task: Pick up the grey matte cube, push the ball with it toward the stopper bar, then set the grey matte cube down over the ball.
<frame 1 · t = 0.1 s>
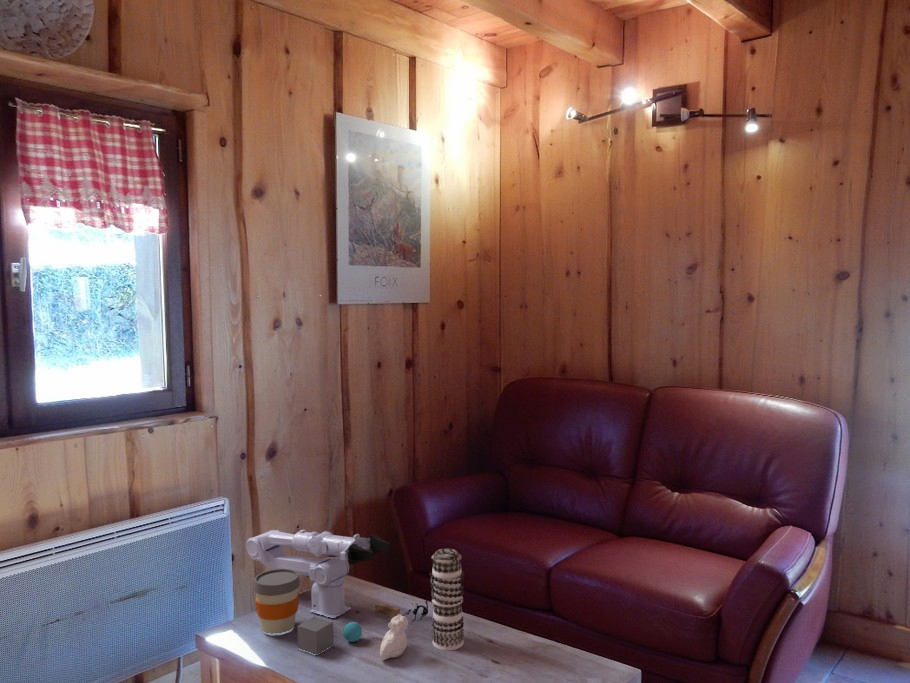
hand: (381, 551, 198), 22 cm above the table, tool horizontal, fingers open, 7 cm apart
reusable coffee cup: (278, 629, 199), on the table
creature: (415, 619, 204), on the table
stopper bar: (387, 614, 207), on the table
decorative candle: (448, 643, 189), on the table
grey matte cube: (316, 648, 187), on the table
ball: (352, 631, 191), on the table
bust: (394, 654, 184), on the table
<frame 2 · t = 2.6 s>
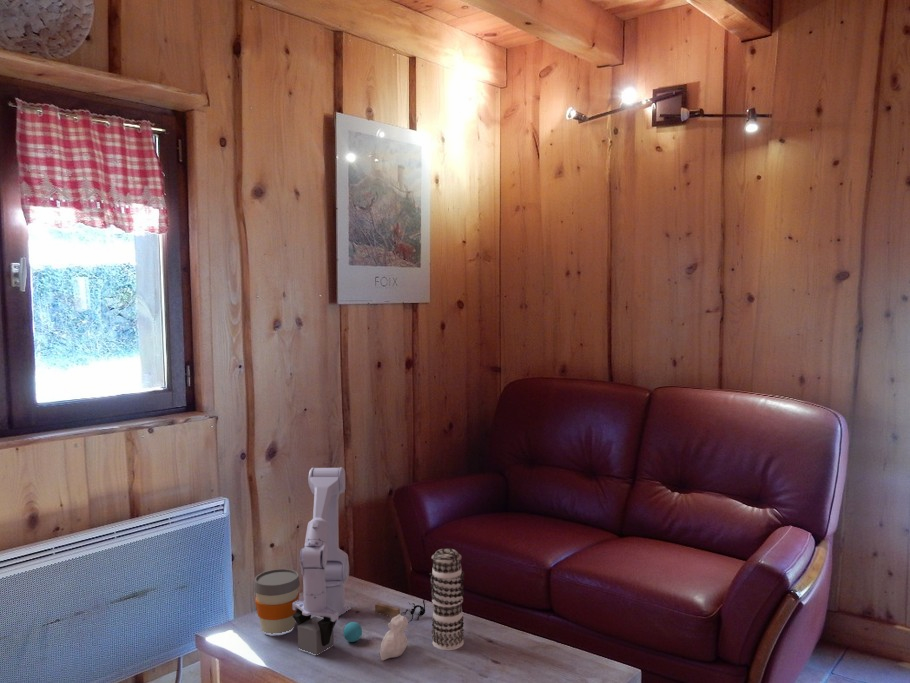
hand: (315, 641, 187), 2 cm above the table, tool pointing down, fingers closed on grey matte cube, 6 cm apart
grey matte cube: (316, 648, 187), on the table, touching gripper
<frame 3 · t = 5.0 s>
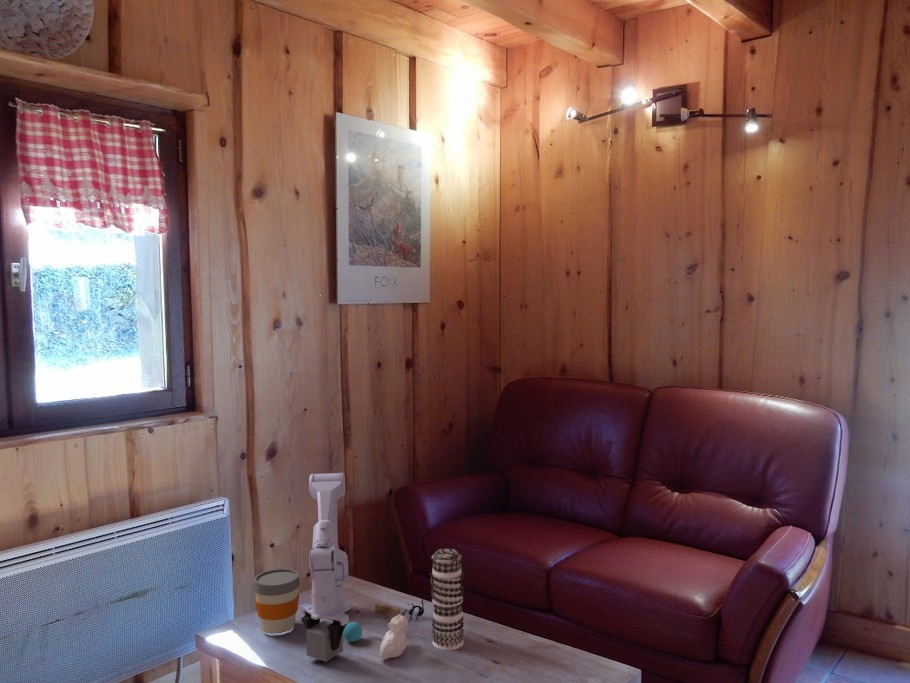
hand: (325, 645, 181), 4 cm above the table, tool pointing down, fingers closed on grey matte cube, 6 cm apart
grey matte cube: (325, 653, 181), point 2 cm above the table, touching gripper
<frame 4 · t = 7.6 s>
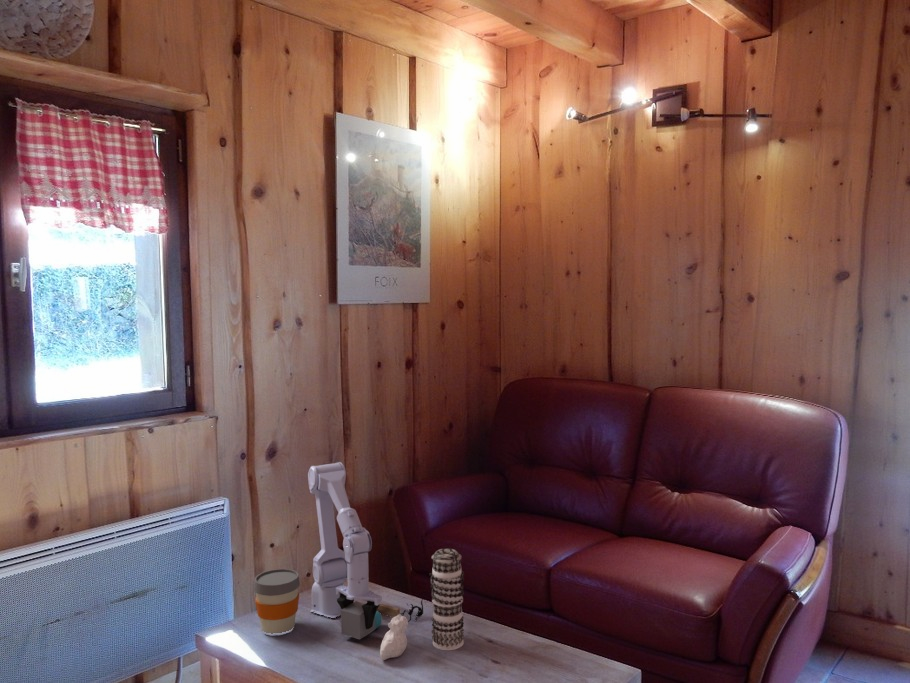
hand: (359, 624, 193), 3 cm above the table, tool pointing down, fingers closed on grey matte cube, 6 cm apart
grey matte cube: (358, 631, 193), point 2 cm above the table, touching gripper
ball: (372, 619, 198), on the table
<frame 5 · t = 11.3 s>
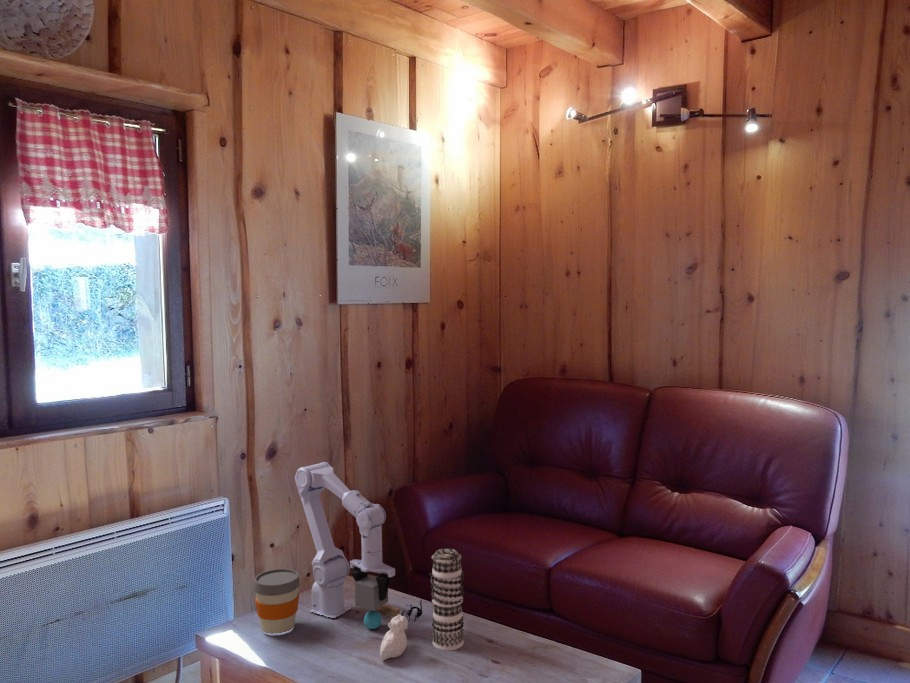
hand: (372, 596, 198), 9 cm above the table, tool pointing down, fingers closed on grey matte cube, 6 cm apart
grey matte cube: (372, 603, 198), point 7 cm above the table, touching gripper
when the fingers open (2 cm above the table, at t = 14.4 s): grey matte cube stays where it is, on the table.
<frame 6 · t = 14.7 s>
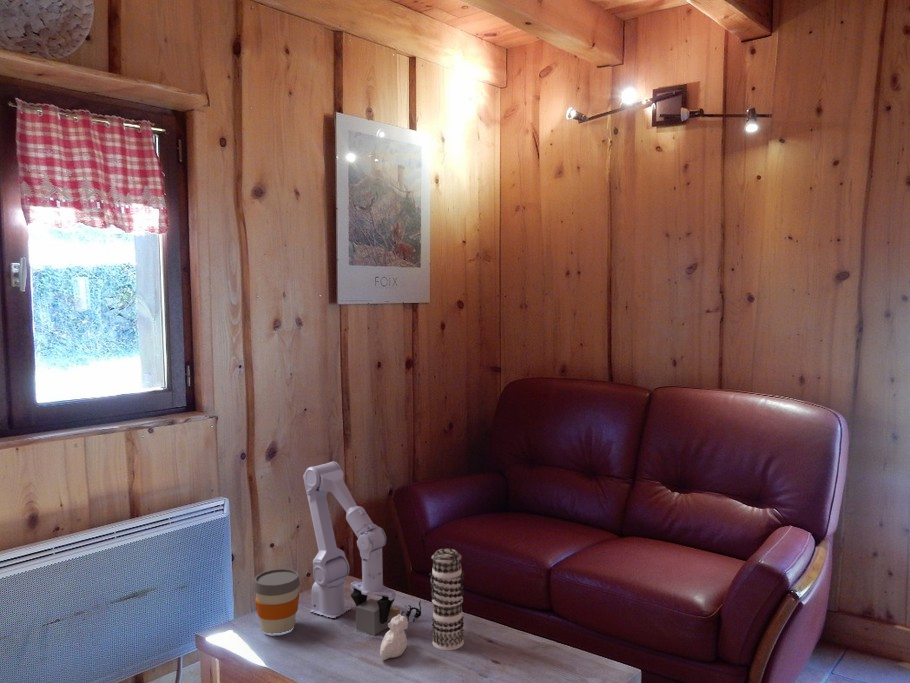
hand: (373, 619, 198), 2 cm above the table, tool pointing down, fingers open, 7 cm apart
grey matte cube: (372, 628, 198), on the table
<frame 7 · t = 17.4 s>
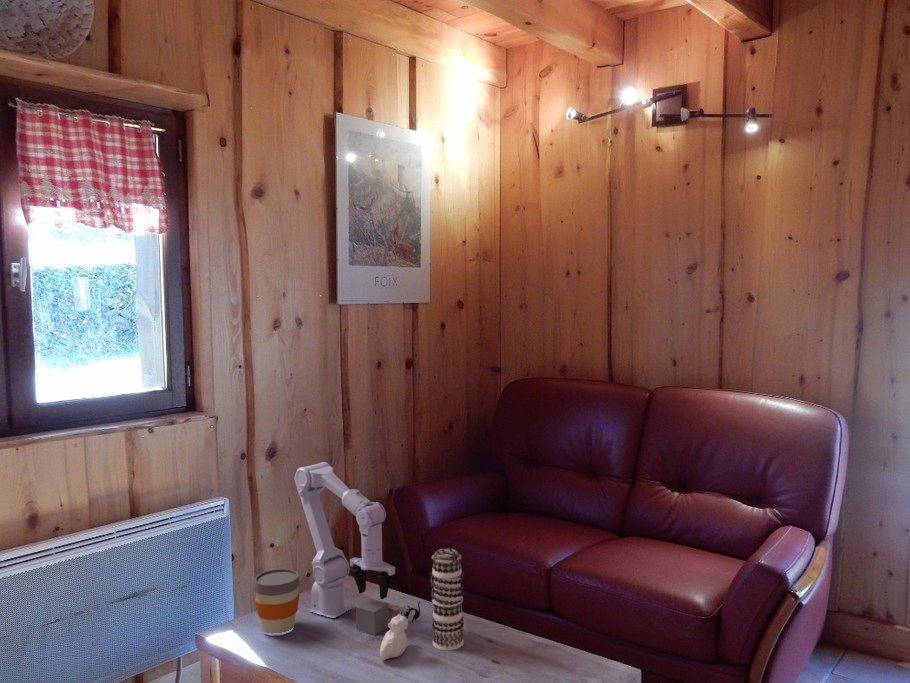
hand: (372, 595, 198), 9 cm above the table, tool pointing down, fingers open, 7 cm apart
at the end: ball 0.1 cm from the grey matte cube (horizontally); grey matte cube on the table; ball moved 8.7 cm from its start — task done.
